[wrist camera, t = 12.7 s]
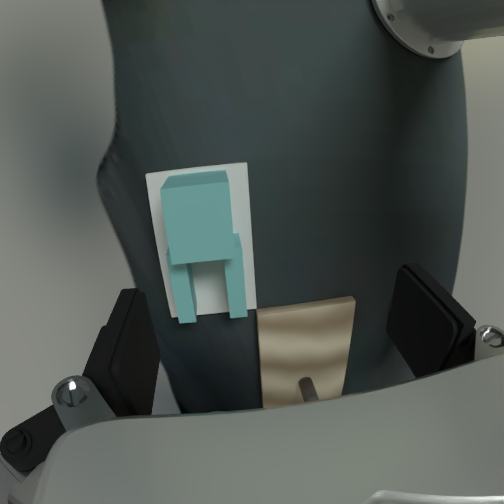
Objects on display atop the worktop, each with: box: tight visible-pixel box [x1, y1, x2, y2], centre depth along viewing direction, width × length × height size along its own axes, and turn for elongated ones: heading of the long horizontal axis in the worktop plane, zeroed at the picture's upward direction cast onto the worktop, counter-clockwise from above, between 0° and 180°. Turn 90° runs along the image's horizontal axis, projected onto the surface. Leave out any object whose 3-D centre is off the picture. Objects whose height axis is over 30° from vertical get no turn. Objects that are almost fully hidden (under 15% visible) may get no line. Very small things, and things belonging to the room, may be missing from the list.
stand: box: [256, 296, 356, 408], centre depth 34 cm, size 16×11×10 cm
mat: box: [146, 162, 257, 317], centre depth 31 cm, size 15×9×1 cm, turn 3°
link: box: [160, 170, 247, 323], centre depth 28 cm, size 13×6×6 cm, turn 3°
